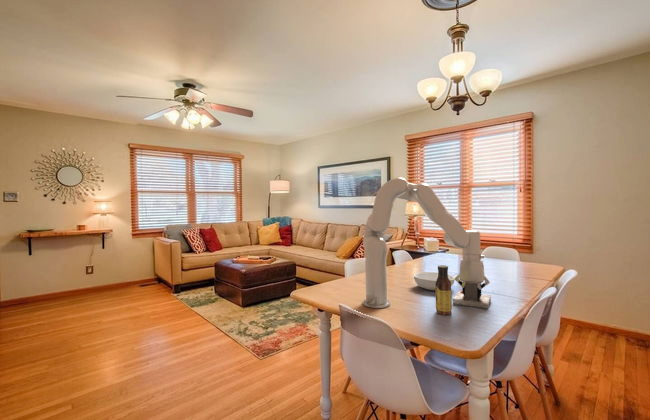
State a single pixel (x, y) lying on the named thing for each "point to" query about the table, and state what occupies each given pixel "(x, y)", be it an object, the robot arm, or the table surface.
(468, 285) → the plug
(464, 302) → the socket plate
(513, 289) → the table surface
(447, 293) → the sauce bottle
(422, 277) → the serving bowl
